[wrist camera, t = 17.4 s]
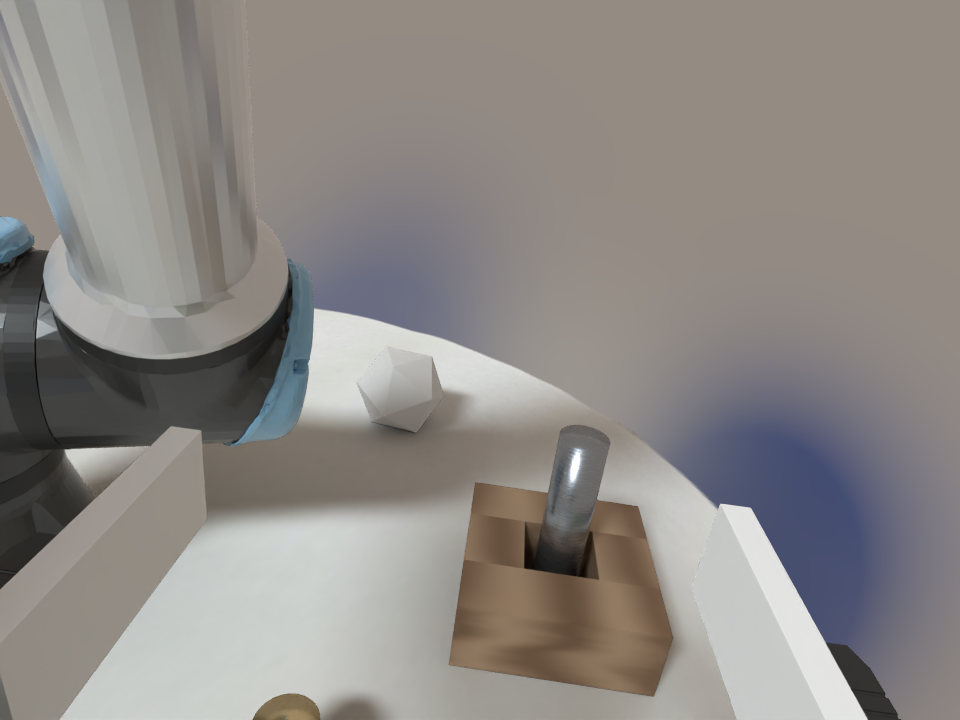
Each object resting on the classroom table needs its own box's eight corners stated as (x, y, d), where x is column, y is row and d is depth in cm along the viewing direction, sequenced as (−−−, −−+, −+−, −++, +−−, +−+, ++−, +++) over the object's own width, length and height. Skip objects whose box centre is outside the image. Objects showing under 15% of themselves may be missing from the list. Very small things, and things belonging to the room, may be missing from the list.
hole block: (449, 664, 39) (457, 604, 37) (468, 532, 51) (475, 482, 49) (653, 696, 39) (673, 637, 37) (624, 556, 51) (637, 506, 49)
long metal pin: (518, 595, 45) (549, 430, 40) (552, 582, 47) (587, 422, 41) (544, 627, 43) (582, 455, 37) (579, 612, 44) (620, 445, 39)
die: (450, 419, 70) (422, 339, 70) (455, 419, 61) (424, 328, 62) (381, 444, 68) (353, 362, 69) (376, 447, 60) (344, 354, 61)
